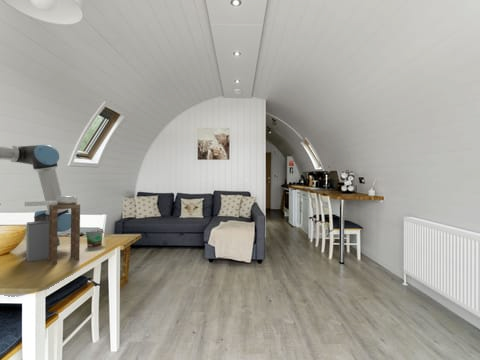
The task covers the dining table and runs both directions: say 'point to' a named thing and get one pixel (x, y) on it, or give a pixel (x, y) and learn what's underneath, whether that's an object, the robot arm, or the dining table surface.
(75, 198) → the silver saucepan
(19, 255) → the dining table surface
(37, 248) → the gray rectangular block
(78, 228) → the tall stand
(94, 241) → the food container
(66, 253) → the dining table surface
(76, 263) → the dining table surface
